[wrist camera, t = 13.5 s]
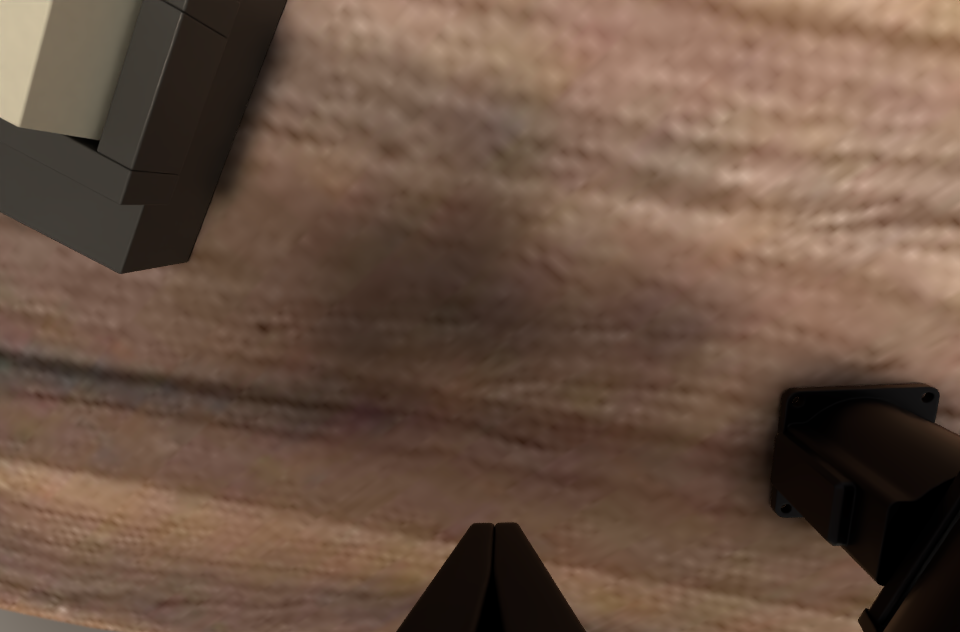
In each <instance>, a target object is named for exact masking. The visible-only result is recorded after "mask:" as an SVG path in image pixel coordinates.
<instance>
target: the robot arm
mask: <svg viewBox="0 0 960 632" xmlns="http://www.w3.org/2000/svg"><path fill="white" fill-rule="evenodd" d="M925 393H926V394H925ZM923 394H925V396H924V397H923V398H922V395H923ZM796 397H799V398H798V401H797V402H795V403H792V402H793V399H794V398H796ZM939 397H940V395H939V392H938V390H937V389H935V388H934V387H931V386H929V385H927V384H893V385H865V386H836V387H807V388H791V389H788V390H787V391H785V392H784V394H783V395H782V398H781V408H780V417H779V427H778V434H777V435H776V437H775V444H774V453H773V463H772V473H771V484H772V495H771V508H772V509H773V510H774V511H775V513H776V514H777V515H778V516H780V517H784V518H795V517H804V518H805V519H806V520H807V521H808V522H809V523H810V524H811V525H812V526H813V527H814V528H815V529H816V530H817V531H818V532H819V533H820V535H821V536H822V537H823V538H824V539H825V540H826V541H828V542H829V543H830V544H831V545H833V546H841V547H842V548H843V549H844V550H845V551H846V552H847V553H848V554H849V555H850V556H851V557H852V558H853V559H854V560H855V561H856V562H857V563H858V564H859V565H860V566H861V567H862V568H863V569H864V570H865V571H866V572H867V573H868V574H869V575H870V576H871V577H872V578H873V579H874V580H875V581H876V582H877V583H878V584H879V585H882V586H884V587H883V589H882V590H881V592H880V594H879V595H878V597H877V598H876V600H875V601H874V603H873V604H872V606H871V607H870V609H867V608H866V609H865V610H864V611H863V613H862V614H861V616H860V617H859V619H858V622H859V624H860V626H861V628H862V630H863V632H960V436H959V435H957V434H955V433H953V432H951V431H949V430H947V429H946V428H944V427H942V426H940V425H938V424H936V423H935V418H936V413H937V408H938V403H939ZM921 398H922V399H921ZM784 504H786V506H785V507H783V508H781V507H782V506H783V505H784ZM396 632H586V631H585V629H584V628H583V626H582V625H581V623H580V622H579V620H578V618H577V617H576V615H575V614H574V612H573V610H572V609H571V607H570V606H569V604H568V603H567V601H566V599H565V598H564V596H563V595H562V593H561V591H560V590H559V588H558V587H557V585H556V583H555V582H554V580H553V579H552V577H551V576H550V574H549V572H548V571H547V569H546V568H545V566H544V564H543V563H542V561H541V560H540V558H539V556H538V555H537V553H536V552H535V550H534V549H533V547H532V545H531V544H530V542H529V541H528V539H527V537H526V536H525V534H524V533H523V531H522V529H521V528H520V526H519V525H518V524H517V523H514V522H509V523H497V524H496V525H495V526H494V524H492V523H474V524H472V525H471V526H470V528H469V529H468V530H467V532H466V533H465V535H464V536H463V538H462V539H461V540H460V542H459V543H458V545H457V546H456V547H455V549H454V550H453V552H452V553H451V555H450V556H449V557H448V559H447V560H446V562H445V563H444V565H443V566H442V567H441V569H440V570H439V572H438V573H437V575H436V576H435V577H434V579H433V580H432V582H431V583H430V584H429V586H428V587H427V589H426V590H425V592H424V593H423V594H422V596H421V597H420V599H419V600H418V602H417V603H416V604H415V606H414V607H413V609H412V610H411V612H410V613H409V614H408V616H407V617H406V619H405V620H404V621H403V623H402V624H401V626H400V627H399V629H398V630H397V631H396Z"/></svg>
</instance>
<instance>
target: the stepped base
mask: <svg viewBox="0 0 960 632" xmlns="http://www.w3.org/2000/svg"><path fill="white" fill-rule="evenodd" d="M285 2H286V0H143V1H142V5H141V8H140V11H139V14H138V18H137V21H136V24H135V27H134V31H133V34H132V37H131V40H130V44H129V47H128V50H127V53H126V57H125V60H124V63H123V66H122V70H121V73H120V76H119V79H118V83H117V86H116V89H115V92H114V96H113V99H112V102H111V106H110V109H109V112H108V115H107V119H106V122H105V125H104V128H103V132H102V135H101V138H100V140H95V139H88V138H82V137H76V136H70V135H64V134H58V133H51V132H45V131H39V130H33V129H27V128H20V127H17V126H15V125H13V124H11V123H9V122H8V121H6V120H4V119H2V118H0V212H1V213H3V214H5V215H7V216H9V217H11V218H13V219H15V220H17V221H18V222H20V223H22V224H24V225H26V226H28V227H30V228H32V229H34V230H36V231H38V232H40V233H42V234H44V235H46V236H47V237H49V238H51V239H53V240H55V241H57V242H59V243H61V244H63V245H65V246H67V247H69V248H71V249H73V250H75V251H77V252H78V253H80V254H82V255H84V256H86V257H88V258H90V259H92V260H94V261H96V262H98V263H100V264H102V265H104V266H106V267H108V268H109V269H111V270H113V271H115V272H117V273H119V274H123V273H129V272H134V271H140V270H145V269H151V268H157V267H162V266H168V265H173V264H179V263H184V262H187V261H188V258H189V256H190V253H191V250H192V248H193V245H194V243H195V240H196V237H197V235H198V232H199V229H200V227H201V224H202V221H203V219H204V216H205V214H206V211H207V208H208V206H209V203H210V200H211V198H212V195H213V192H214V190H215V187H216V184H217V182H218V179H219V177H220V174H221V171H222V169H223V166H224V163H225V161H226V158H227V155H228V153H229V150H230V148H231V145H232V142H233V140H234V137H235V134H236V132H237V129H238V126H239V124H240V121H241V119H242V116H243V113H244V111H245V108H246V105H247V103H248V100H249V97H250V95H251V92H252V89H253V87H254V84H255V82H256V79H257V76H258V74H259V71H260V68H261V66H262V63H263V60H264V58H265V55H266V53H267V50H268V47H269V45H270V42H271V39H272V37H273V34H274V31H275V29H276V26H277V24H278V21H279V18H280V16H281V13H282V10H283V8H284V5H285Z"/></svg>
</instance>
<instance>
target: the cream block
mask: <svg viewBox="0 0 960 632" xmlns="http://www.w3.org/2000/svg"><path fill="white" fill-rule="evenodd" d="M142 1H143V0H0V118H2V119H4V120H6V121H8V122H9V123H11V124H13V125H15V126H17V127H20V128H27V129H33V130H39V131H45V132H51V133H58V134H64V135H70V136H76V137H82V138H88V139H95V140H100V138H101V135H102V132H103V128H104V125H105V122H106V119H107V115H108V112H109V109H110V106H111V102H112V99H113V96H114V92H115V89H116V86H117V83H118V79H119V76H120V73H121V70H122V66H123V63H124V60H125V57H126V53H127V50H128V47H129V44H130V40H131V37H132V34H133V31H134V27H135V24H136V21H137V18H138V14H139V11H140V8H141V5H142Z"/></svg>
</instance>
